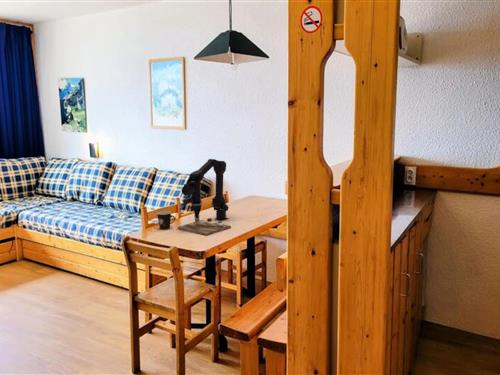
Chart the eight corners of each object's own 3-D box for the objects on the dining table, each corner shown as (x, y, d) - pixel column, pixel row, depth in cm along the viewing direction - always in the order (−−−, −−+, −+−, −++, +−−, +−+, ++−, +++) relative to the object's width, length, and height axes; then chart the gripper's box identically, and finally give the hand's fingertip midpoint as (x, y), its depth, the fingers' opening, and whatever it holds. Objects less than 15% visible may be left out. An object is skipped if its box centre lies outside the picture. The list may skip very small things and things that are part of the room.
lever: (224, 225, 274) (224, 211, 272) (221, 226, 270) (221, 213, 268) (196, 222, 281) (196, 209, 280) (193, 224, 277) (192, 211, 276)
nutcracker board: (201, 222, 292) (201, 215, 292) (230, 228, 276) (230, 221, 275) (177, 229, 277) (177, 222, 276) (206, 235, 260) (206, 228, 259)
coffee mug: (155, 228, 280) (154, 213, 278) (167, 225, 286) (166, 210, 284) (164, 231, 271) (163, 216, 270) (176, 229, 277) (175, 213, 275)
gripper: (184, 190, 284) (184, 214, 286) (182, 195, 266) (183, 221, 268) (201, 190, 285) (202, 214, 287) (200, 195, 267) (201, 220, 269)
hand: (196, 217), depth 278 cm, fingers open, 3 cm apart
